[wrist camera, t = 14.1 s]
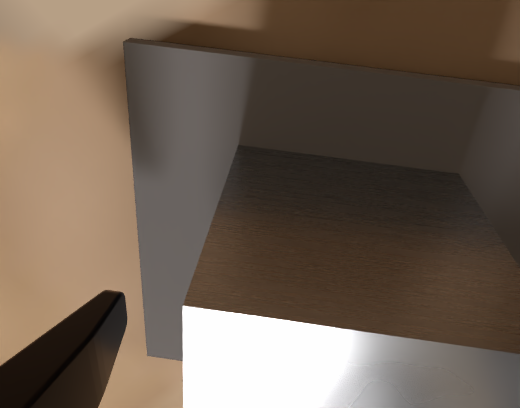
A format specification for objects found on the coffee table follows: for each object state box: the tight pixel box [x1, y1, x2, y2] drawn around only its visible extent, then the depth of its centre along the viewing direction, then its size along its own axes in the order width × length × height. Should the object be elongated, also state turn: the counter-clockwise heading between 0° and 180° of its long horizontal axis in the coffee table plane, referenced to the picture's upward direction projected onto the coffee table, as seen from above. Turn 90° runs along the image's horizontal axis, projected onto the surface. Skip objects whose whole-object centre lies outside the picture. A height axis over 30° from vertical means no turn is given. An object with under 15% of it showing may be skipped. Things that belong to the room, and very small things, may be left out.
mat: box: [123, 38, 520, 361], centre depth 11 cm, size 10×10×1 cm
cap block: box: [183, 145, 520, 408], centre depth 9 cm, size 6×5×5 cm
